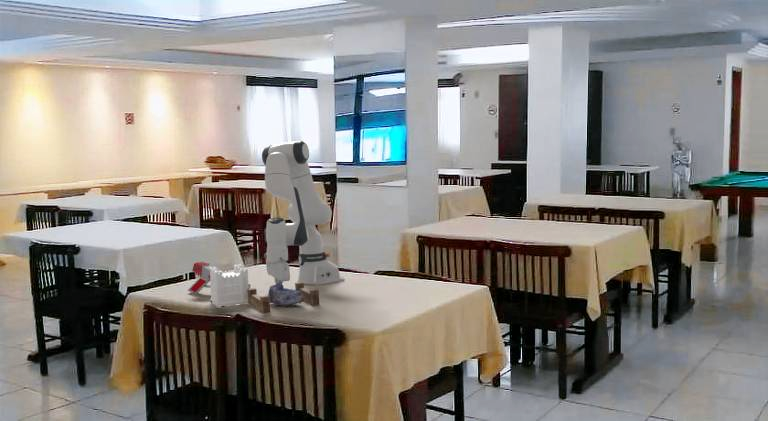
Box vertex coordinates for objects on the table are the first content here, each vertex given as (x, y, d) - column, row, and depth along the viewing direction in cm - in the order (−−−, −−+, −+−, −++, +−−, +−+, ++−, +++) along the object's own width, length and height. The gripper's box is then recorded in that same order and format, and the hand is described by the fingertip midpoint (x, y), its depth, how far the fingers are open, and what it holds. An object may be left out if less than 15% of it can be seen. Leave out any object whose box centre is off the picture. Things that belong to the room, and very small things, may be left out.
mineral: (264, 284, 327) (282, 278, 334) (265, 305, 329) (283, 299, 336) (288, 292, 318) (305, 286, 325) (288, 314, 320) (306, 307, 327)
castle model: (217, 307, 328) (215, 272, 326) (210, 301, 341) (208, 267, 339) (250, 303, 333) (248, 269, 332) (242, 297, 346) (240, 264, 345)
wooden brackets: (302, 296, 344) (302, 282, 343) (319, 304, 326) (319, 289, 325) (248, 303, 333) (247, 288, 332) (262, 313, 315) (262, 297, 315)
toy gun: (235, 316, 348) (244, 286, 345) (184, 291, 356) (192, 261, 353) (243, 313, 355) (252, 283, 351) (193, 288, 363) (201, 259, 359)
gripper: (292, 258, 323) (294, 291, 325) (277, 252, 341) (278, 283, 343) (278, 260, 320) (279, 293, 322) (263, 253, 339) (264, 285, 340)
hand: (279, 288), depth 333 cm, fingers closed
